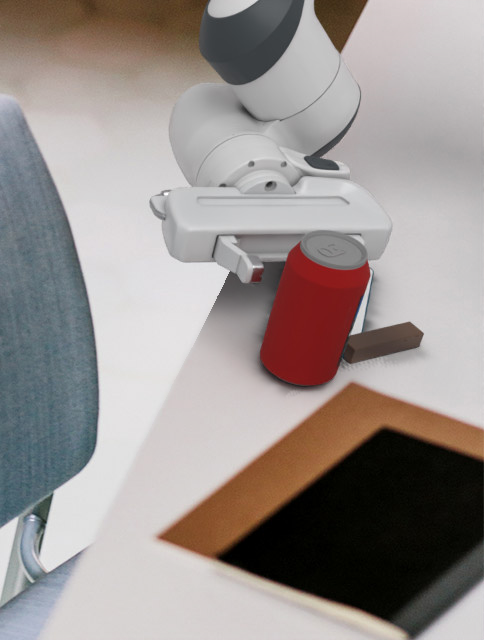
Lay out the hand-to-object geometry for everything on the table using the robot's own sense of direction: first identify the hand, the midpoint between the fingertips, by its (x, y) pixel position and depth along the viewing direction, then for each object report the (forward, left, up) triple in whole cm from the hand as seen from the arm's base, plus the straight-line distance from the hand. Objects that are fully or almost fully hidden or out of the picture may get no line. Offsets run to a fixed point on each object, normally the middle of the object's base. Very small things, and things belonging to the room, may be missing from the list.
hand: (306, 275), depth 99 cm
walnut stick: (-9, -1, -8) cm, 11 cm away
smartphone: (-5, -8, -8) cm, 12 cm away
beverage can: (0, +3, -8) cm, 8 cm away
